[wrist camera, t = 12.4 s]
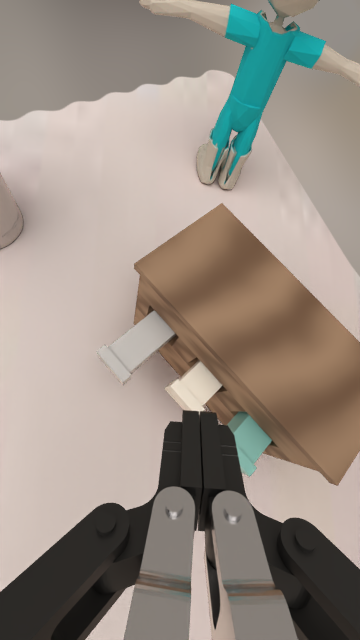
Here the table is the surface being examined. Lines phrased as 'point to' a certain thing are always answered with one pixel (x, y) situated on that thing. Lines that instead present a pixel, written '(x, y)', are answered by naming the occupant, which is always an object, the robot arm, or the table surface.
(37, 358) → the table surface
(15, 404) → the table surface
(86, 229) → the table surface
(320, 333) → the console
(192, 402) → the ivory key
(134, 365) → the grey key
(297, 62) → the toy
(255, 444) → the teal key
